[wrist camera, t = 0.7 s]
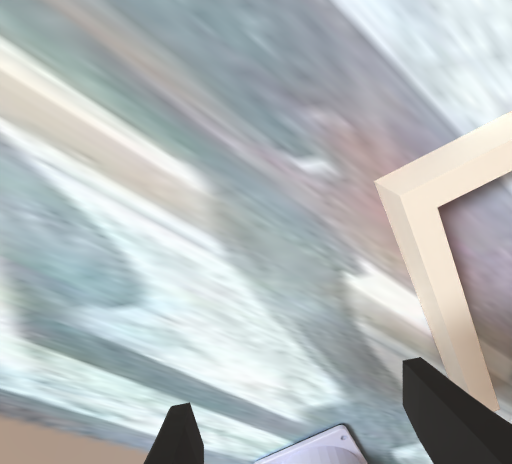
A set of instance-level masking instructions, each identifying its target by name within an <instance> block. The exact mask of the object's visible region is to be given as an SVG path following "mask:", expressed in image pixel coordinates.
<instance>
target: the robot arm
mask: <svg viewBox="0 0 512 464" xmlns="http://www.w3.org/2000/svg"><path fill="white" fill-rule="evenodd" d="M403 407H404V409H405V411H406V413H407V415H408V418H409V420H410V422H411V424H412V426H413V428H414V430H415V432H416V434H417V436H418V438H419V440H420V442H421V443H422V445H423V447H424V448H425V450H426V452H427V453H428V455H429V457H430V458H431V460H432V462H433V463H434V464H512V424H510V423H509V422H507V421H506V420H504V419H503V418H501V417H500V416H499V415H497V414H496V413H494V412H493V411H491V410H490V409H489V408H487V407H486V406H485V405H483V404H482V403H480V402H479V401H478V400H476V399H475V398H473V397H472V396H471V395H469V394H468V393H467V392H465V391H464V390H463V389H461V388H460V387H459V386H457V385H456V384H455V383H453V382H452V381H451V380H450V379H448V378H447V377H446V376H444V375H443V374H442V373H440V372H439V371H438V370H437V369H435V368H434V367H433V366H431V365H430V364H429V363H428V362H426V361H425V360H424V359H422V358H421V357H419V358H414V359H409V360H404V361H403ZM144 464H204V444H203V441H202V438H201V435H200V432H199V429H198V426H197V423H196V420H195V417H194V414H193V411H192V408H191V405H190V403H185V404H180V405H175V406H171V408H170V409H169V411H168V413H167V416H166V418H165V420H164V422H163V424H162V427H161V429H160V431H159V433H158V435H157V437H156V440H155V442H154V444H153V446H152V448H151V450H150V452H149V454H148V456H147V458H146V460H145V462H144ZM254 464H368V463H367V461H366V459H365V458H364V456H363V454H362V453H361V451H360V449H359V448H358V446H357V445H356V443H355V441H354V440H353V438H352V436H351V435H350V433H349V431H348V430H347V428H346V427H345V426H344V425H338V426H336V427H334V428H331V429H329V430H327V431H324V432H322V433H320V434H318V435H315V436H313V437H311V438H308V439H306V440H304V441H302V442H299V443H297V444H295V445H293V446H290V447H288V448H286V449H283V450H281V451H279V452H277V453H274V454H272V455H270V456H267V457H265V458H263V459H261V460H258V461H256V462H255V463H254Z"/></svg>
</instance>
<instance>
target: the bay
mask: <svg viewBox="0 0 512 464" xmlns="http://www.w3.org/2000/svg"><path fill="white" fill-rule="evenodd" d="M510 171H512V111H510V112H509V113H507V114H505V115H503V116H501V117H499V118H497V119H495V120H493V121H491V122H489V123H487V124H485V125H483V126H481V127H479V128H477V129H475V130H473V131H471V132H469V133H467V134H465V135H463V136H462V137H460V138H458V139H456V140H454V141H452V142H450V143H448V144H446V145H444V146H442V147H440V148H438V149H436V150H434V151H432V152H430V153H428V154H426V155H424V156H422V157H420V158H418V159H417V160H415V161H413V162H411V163H409V164H407V165H405V166H403V167H401V168H399V169H397V170H395V171H393V172H391V173H389V174H387V175H385V176H383V177H381V178H379V179H377V180H375V181H374V183H375V186H376V188H377V191H378V193H379V196H380V199H381V201H382V204H383V207H384V209H385V212H386V215H387V217H388V220H389V222H390V225H391V228H392V230H393V233H394V236H395V238H396V241H397V243H398V246H399V249H400V251H401V254H402V257H403V259H404V262H405V264H406V267H407V270H408V272H409V275H410V278H411V280H412V283H413V286H414V288H415V291H416V293H417V296H418V299H419V301H420V304H421V307H422V309H423V312H424V314H425V317H426V320H427V322H428V325H429V328H430V330H431V333H432V336H433V338H434V341H435V343H436V346H437V349H438V351H439V354H440V357H441V359H442V362H443V364H444V367H445V370H446V372H447V375H448V378H449V379H450V380H451V381H452V382H453V383H455V384H456V385H457V386H459V387H460V388H461V389H463V390H464V391H465V392H467V393H468V394H469V395H471V396H472V397H473V398H475V399H476V400H478V401H479V402H480V403H482V404H483V405H485V406H486V407H487V408H489V409H490V410H491V411H493V412H494V411H497V410H499V409H500V408H499V405H498V402H497V398H496V395H495V392H494V389H493V385H492V382H491V379H490V376H489V373H488V369H487V366H486V363H485V360H484V357H483V353H482V350H481V347H480V344H479V340H478V337H477V334H476V331H475V328H474V324H473V321H472V318H471V315H470V311H469V308H468V305H467V302H466V299H465V295H464V292H463V289H462V286H461V283H460V279H459V276H458V273H457V270H456V266H455V263H454V260H453V257H452V254H451V250H450V247H449V244H448V241H447V237H446V234H445V231H444V228H443V225H442V221H441V218H440V215H439V212H438V209H437V207H439V206H441V205H443V204H445V203H447V202H449V201H451V200H454V199H456V198H458V197H460V196H462V195H464V194H466V193H468V192H470V191H472V190H474V189H476V188H478V187H480V186H482V185H484V184H486V183H488V182H490V181H492V180H494V179H496V178H498V177H500V176H502V175H504V174H506V173H508V172H510Z"/></svg>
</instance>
